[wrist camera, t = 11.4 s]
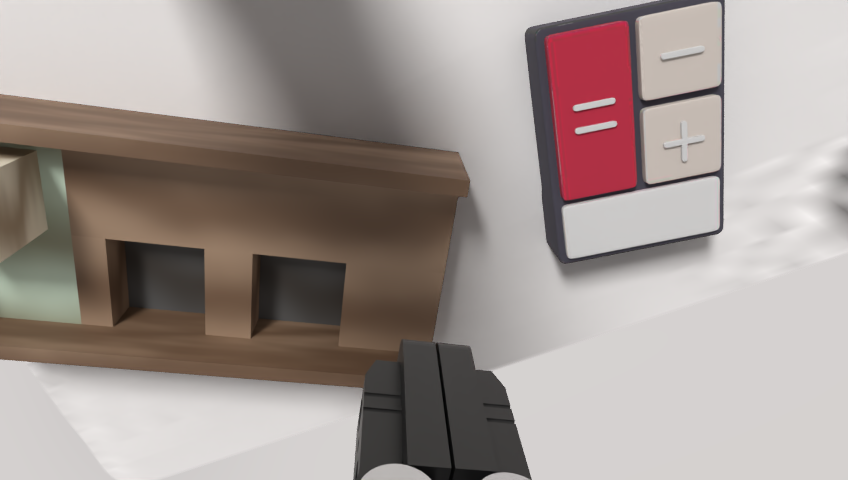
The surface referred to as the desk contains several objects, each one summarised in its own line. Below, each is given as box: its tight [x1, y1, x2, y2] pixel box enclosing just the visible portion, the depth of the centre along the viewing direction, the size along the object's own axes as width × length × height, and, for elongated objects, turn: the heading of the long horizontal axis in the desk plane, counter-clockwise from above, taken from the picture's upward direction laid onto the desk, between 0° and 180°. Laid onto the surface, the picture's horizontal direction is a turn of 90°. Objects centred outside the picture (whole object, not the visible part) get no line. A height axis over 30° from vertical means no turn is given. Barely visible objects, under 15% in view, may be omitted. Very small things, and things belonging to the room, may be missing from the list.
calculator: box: [525, 0, 725, 264], centre depth 36 cm, size 11×4×15 cm
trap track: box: [0, 94, 470, 388], centre depth 36 cm, size 15×31×6 cm, turn 82°
